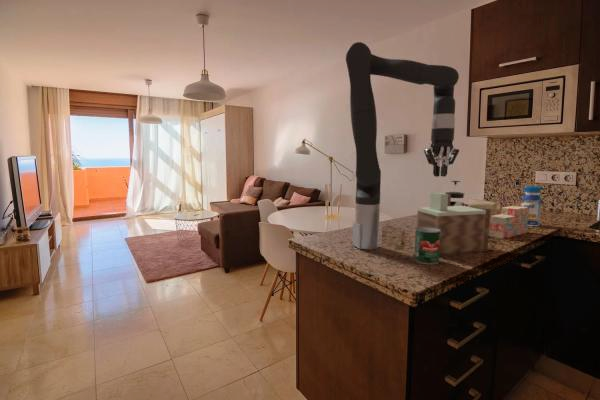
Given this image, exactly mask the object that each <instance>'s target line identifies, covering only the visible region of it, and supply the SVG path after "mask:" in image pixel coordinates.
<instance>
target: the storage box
mask: <svg viewBox="0 0 600 400" xmlns="http://www.w3.org/2000/svg"><path fill="white" fill-rule="evenodd" d="M416 213H417V217H416V218H417V219H416V228H417V227H433V228H438V229H440V230H441V231H440V248H439V257H448V256H458V255H469V254H472V255H473V254H480V253H482V254H483V253H484V251H483V245H484V231H485V218H486V214H472V215H453V216H435V215H431V214H428V213H424V212H420V211H418V210H417V212H416Z"/></svg>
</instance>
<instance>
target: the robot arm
mask: <svg viewBox="0 0 600 400" xmlns="http://www.w3.org/2000/svg"><path fill="white" fill-rule="evenodd" d="M345 63H346V67H347V72H348V78H349V86H350V93H349V94H350V96H349V97H350V98H349V100H350V101H349V102H350V104H349V107H350V121H351V123H350V124H351V128H352V129H351V130H352V136H353V141H354V146H355V152H356V153H355V155H356V158H355V161H356V162H355V178H356V184H355V185H356V187H355V188H356V189H355V190H356V191H355V214H354V217H355V218H354V221H353V222H352V246H353V245H354V246H353V247H355V246H356V247H357V248H356V247H355V248H356V249H358V248H359V249H358V250H376V249H379V242H380V239H379V237H380V213H381V183H382V181H381V180H382V171H381V168H380V163H379V160H378V152H377V133H378V126H377V125H378V121H377V120H378V119H377V109H376V107H377V106H376V102H375V96H374V93H373V92H374V91H373V87H372V80H371V79H372V78H371V75H372V76H378V77H379V76H380V77H386V78H390V79H394V80H398V81H403V82H406V83H411V84H415V85H419V86H421V85H429V86H430V85H431V86H433V107H432V108H433V109H432V110H433V111H432V112H433V114H432V119H431V120H432V121H431V132H430V133H431V134H430V141H431V144H430V146H429V147H427V148H424V149H423V153H424V155H425V158H426V161H427V163H428V164H429V165H432V166H433V167H432V168H433V170H432V174H433V176H434V177H438V178H439V177H444V178H446V177H447V175H448V168H449V166H450V165H453V164H454V163H455V160H456V158H457V156H458V154H459V153H460V148H459V149H458V148H455V147H454V144H453V141H454V140H455V128H456V125H455V124H456V117H455V114H456V113H455V112H456V100H455V97H454V95H455V94H454V93H455V86H456V85H457V84H458V81H459V78H460V76H459V75H460V74H459V72H458V70H456V68H454V67H452V66H447V65H441V64H439V65H438V64H428V63H423V62H420V61H415V60H410V59H400V58H399V59H396V58H394V59H391V58H384V57H380V56H377V55H375V54H373V53H372V51H371V49H370V47H369V46H368V45H367V44H366V43H364V42H362V41H361V42H359V41H357V42H354V43H352V44H351V45H349V47H348V48H347V50H346V53H345Z"/></svg>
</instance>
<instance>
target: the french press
mask: <svg viewBox="0 0 600 400" xmlns="http://www.w3.org/2000/svg"><path fill="white" fill-rule="evenodd" d="M451 182H452V183H454V190H457V189H456V186H457V183H461V181H460V180H451ZM444 194H449V195H451V199H453V201H451V202H450V206H454V205H455V204H456V202H457V201H456V199H463V198H464V197H465V193H464V192H461V191H448V192H446V191H445V193H444ZM463 206H469V204H467V203H465V202H463Z"/></svg>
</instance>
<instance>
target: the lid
mask: <svg viewBox="0 0 600 400" xmlns="http://www.w3.org/2000/svg"><path fill="white" fill-rule="evenodd" d="M418 211H420V212H424V213H428V214H431V215H435V216H453V215H472V214H486V210H481V209H476V208H471V207H466V206H465V205H464V206H448V194H445V193H442V192H430V193H429V206H424V207H417V212H418Z"/></svg>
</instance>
